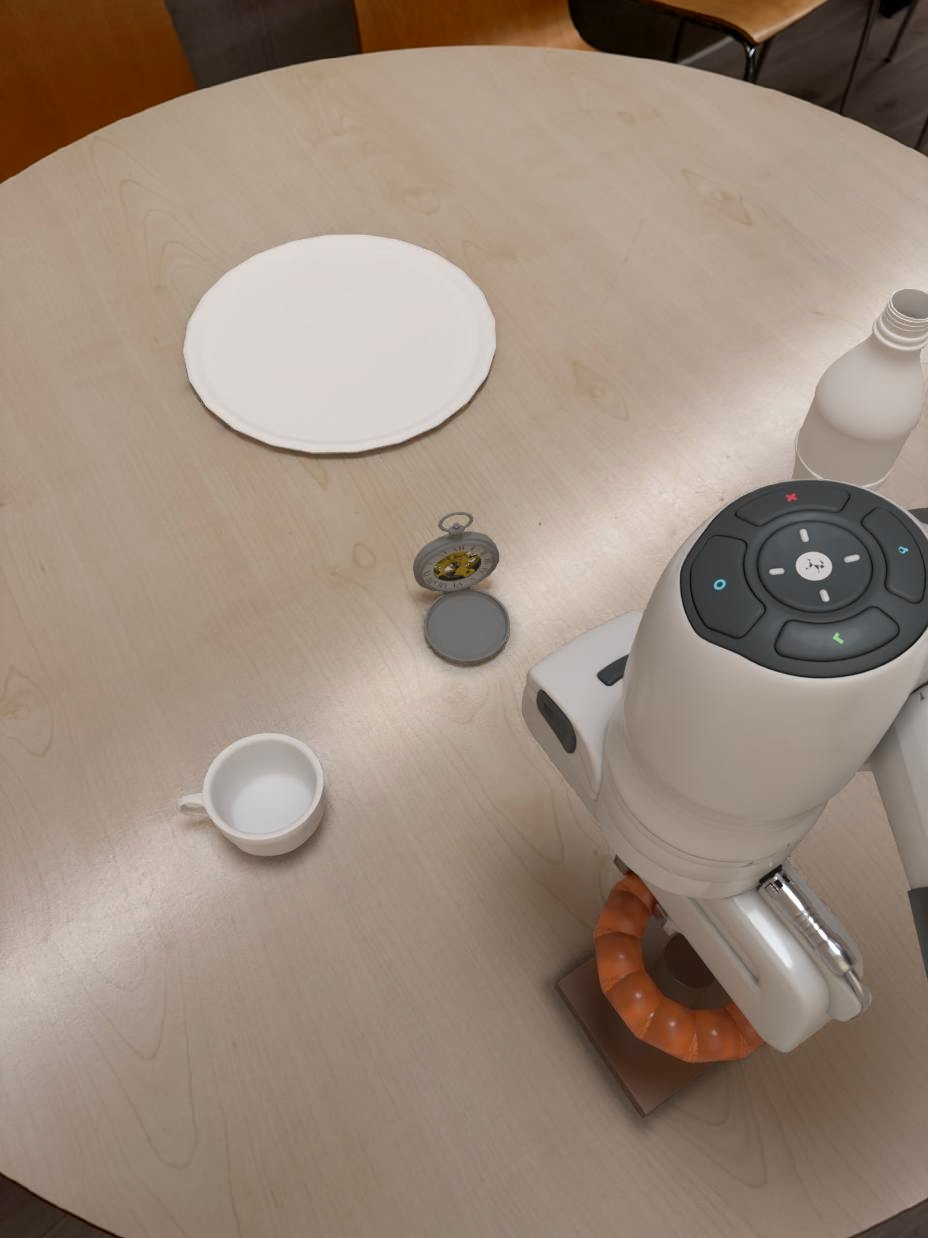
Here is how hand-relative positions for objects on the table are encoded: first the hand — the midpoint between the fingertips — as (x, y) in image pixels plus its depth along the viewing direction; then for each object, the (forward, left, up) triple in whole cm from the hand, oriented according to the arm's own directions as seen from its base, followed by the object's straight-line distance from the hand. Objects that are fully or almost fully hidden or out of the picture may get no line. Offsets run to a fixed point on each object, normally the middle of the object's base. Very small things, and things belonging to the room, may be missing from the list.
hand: (649, 887), depth 55 cm
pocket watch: (+27, -6, -14) cm, 31 cm away
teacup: (+21, +15, -14) cm, 29 cm away
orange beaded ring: (-4, 0, 0) cm, 4 cm away
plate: (+59, -13, -14) cm, 62 cm away
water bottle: (+18, -33, -14) cm, 40 cm away
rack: (-4, 0, -14) cm, 15 cm away
